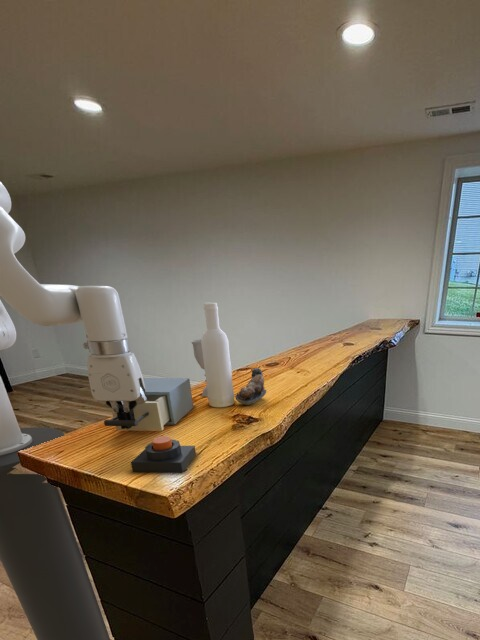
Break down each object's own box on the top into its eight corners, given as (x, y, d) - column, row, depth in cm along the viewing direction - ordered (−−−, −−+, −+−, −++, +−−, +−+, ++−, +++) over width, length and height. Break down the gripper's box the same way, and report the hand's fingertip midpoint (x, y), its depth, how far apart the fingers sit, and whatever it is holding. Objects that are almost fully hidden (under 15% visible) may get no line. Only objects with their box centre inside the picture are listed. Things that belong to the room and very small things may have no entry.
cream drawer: (148, 442, 80) (142, 412, 77) (99, 442, 80) (91, 412, 77) (182, 412, 99) (178, 387, 96) (142, 412, 99) (137, 387, 96)
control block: (132, 472, 69) (128, 454, 68) (150, 454, 77) (147, 437, 75) (182, 472, 69) (179, 454, 68) (196, 454, 77) (193, 438, 75)
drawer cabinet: (174, 424, 93) (169, 392, 89) (127, 424, 93) (120, 391, 89) (193, 407, 106) (189, 378, 103) (152, 406, 106) (146, 377, 103)
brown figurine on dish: (251, 408, 106) (248, 376, 102) (231, 406, 108) (228, 374, 104) (270, 397, 116) (268, 368, 112) (251, 395, 118) (249, 366, 114)
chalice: (220, 391, 123) (214, 339, 116) (220, 396, 117) (213, 342, 110) (199, 392, 121) (191, 339, 114) (197, 397, 115) (189, 342, 108)
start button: (150, 451, 70) (148, 443, 69) (158, 443, 73) (156, 436, 73) (168, 451, 70) (166, 443, 69) (175, 443, 73) (173, 436, 73)
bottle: (230, 398, 115) (220, 302, 103) (238, 405, 109) (228, 303, 97) (206, 402, 111) (192, 302, 99) (212, 409, 105) (199, 303, 93)
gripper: (63, 350, 71) (86, 432, 78) (136, 351, 71) (153, 433, 79) (86, 345, 78) (105, 421, 85) (152, 345, 78) (166, 421, 86)
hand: (128, 426), depth 82 cm, fingers closed
